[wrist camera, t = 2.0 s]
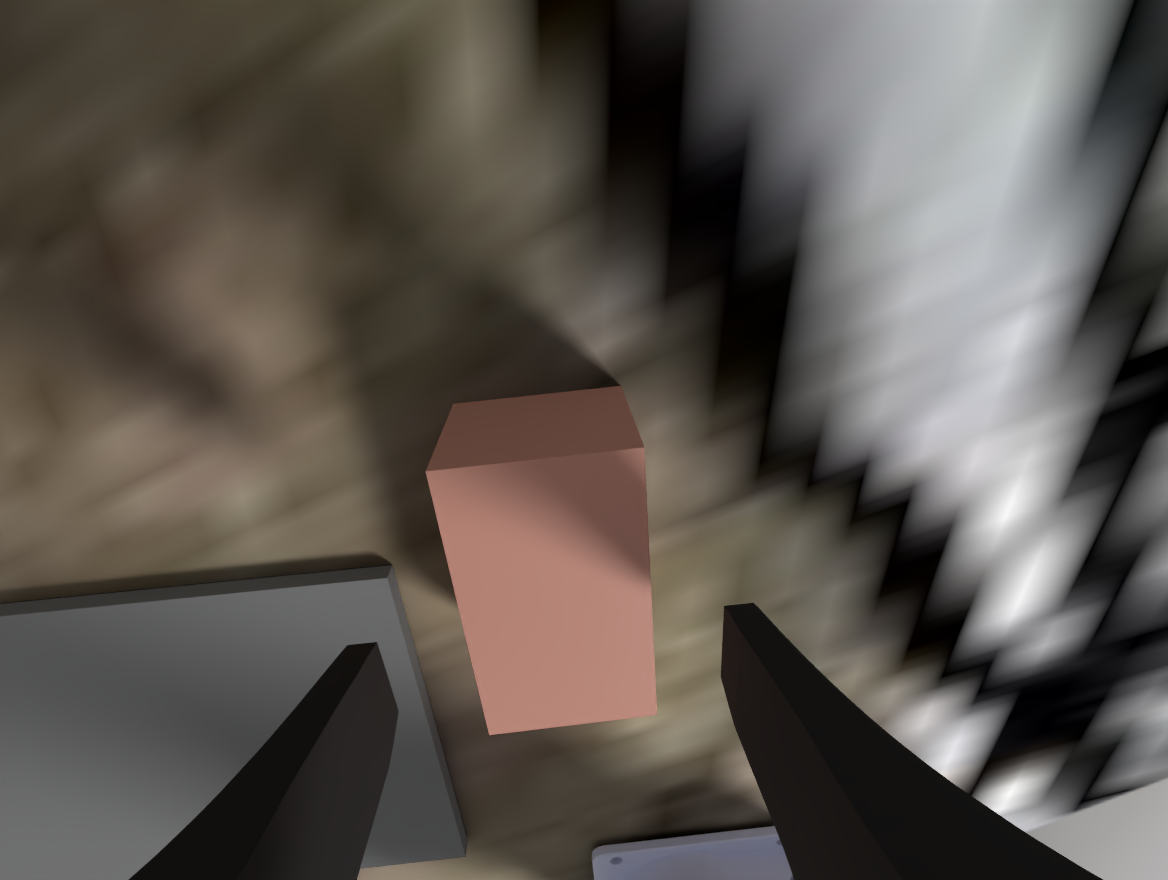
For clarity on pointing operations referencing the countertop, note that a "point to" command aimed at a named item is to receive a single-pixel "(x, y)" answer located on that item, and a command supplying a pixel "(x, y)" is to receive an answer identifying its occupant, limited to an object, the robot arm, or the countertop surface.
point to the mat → (192, 715)
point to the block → (549, 556)
